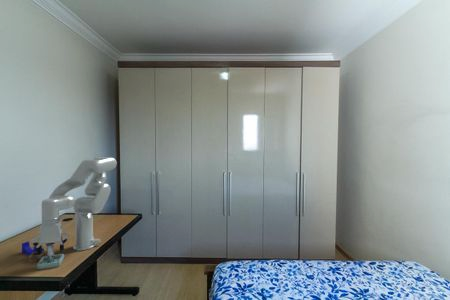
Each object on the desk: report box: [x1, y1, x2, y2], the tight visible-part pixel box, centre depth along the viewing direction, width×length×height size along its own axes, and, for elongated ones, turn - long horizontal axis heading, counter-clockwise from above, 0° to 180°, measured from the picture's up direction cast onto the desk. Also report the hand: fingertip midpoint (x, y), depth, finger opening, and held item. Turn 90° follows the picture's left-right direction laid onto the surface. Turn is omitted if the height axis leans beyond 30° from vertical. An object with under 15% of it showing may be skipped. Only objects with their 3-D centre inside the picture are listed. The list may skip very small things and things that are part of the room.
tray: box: [35, 253, 65, 271], centre depth 129 cm, size 10×10×2 cm
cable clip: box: [21, 241, 45, 256], centre depth 141 cm, size 12×4×6 cm, turn 71°
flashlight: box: [45, 242, 56, 263], centre depth 129 cm, size 4×4×11 cm
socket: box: [27, 250, 46, 263], centre depth 135 cm, size 6×6×3 cm
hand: (50, 252), depth 129 cm, fingers open, 9 cm apart
